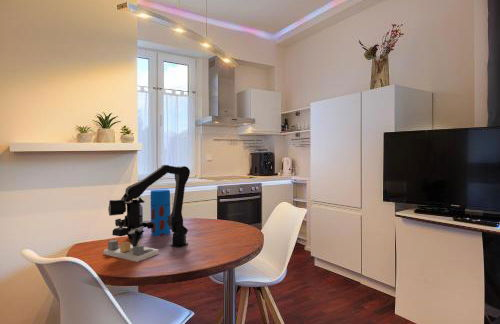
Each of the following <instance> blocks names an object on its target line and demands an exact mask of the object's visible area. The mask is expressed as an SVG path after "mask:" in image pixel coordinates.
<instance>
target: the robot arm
mask: <svg viewBox="0 0 500 324" xmlns="http://www.w3.org/2000/svg"><path fill="white" fill-rule="evenodd" d="M190 173H191V170H190V168H189V167H187V166H184V165H179V166H173V165H169V164H162V165H161V166H159V168H158V169H156V170H154V171H153V172H152V173H150V174H149V175H148V176H146V177H145V178H143V179H142V180H140V181H137V182H135V183H133V184H131V185H129V186H127V187H126V188H125V192H124V194H123V196H122V197H120V199H115V200H114V199H109V200H108V201H109V202H108V203H109V204H108V207H107V209H108V210H107V211H108V215H109V216H111V217H112V216H119V215H120V216H121V215H124V213H126V215H124V219H122V218H116V219H115V220H114V223H115V227H116V228H113V229H112V236H116V237H124V236H127V237H128V239H129V241H130V244H132V246H136V245H138V242H139V240H140V238H142V237H141V235H142V233H143V234H144V233H145V230H144V228H147V229H150V230H151V228H153V223H152V222H151V221H150V220H149V221H148V220H143V222H140V217H142V215H140V204H143V203H145V200H143V199H142V197H141V195H142V194H144V192H145V191H146V190H147V189H148V188H149V187H150V186H152V185H153V184H154V183H156V182H157V181H158V180H160V179H161V178H162V177H163V178H164V176H166V175H167V174H171V175H174V181H175V188H174V197H173V203H172V204H173V205H172V211H171V212H170V215H168V220H167V222H166V223H168V227H169V228H170V231H171V232H172V238H171V241H172V242H171V243H172V244H170V245H169V246H170V247H174V248H175V247H176V248H182V247H185V246H188V245H189V243H188V242H187V234H188V231H189V230H188V228H187V227H185V225H184V217H183V213H182V211H183V204H184V197H185V189H186V188H185V187H186V184H187V182H188V180H189V178H190V175H191V174H190ZM142 228H143V230H142Z"/></svg>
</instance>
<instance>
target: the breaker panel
mask: <svg viewBox="0 0 500 324" xmlns="http://www.w3.org/2000/svg"><path fill="white" fill-rule="evenodd" d="M103 254H104V255H106V256H109V257H110V256H111V257H115V258H118V259H124V260H127V261H131V262H136V263H137V262H140V261H144V260H146V259H148V258H151V257H154V256H156V255H159V249H158V248H153V247H147V246H144V245H143V244H137V245H136V246H132V244H131V243H130V250H129V251H126V252H122V251H120V244H119V240H116V239H112V240H108V241H107V248H106V249H103Z"/></svg>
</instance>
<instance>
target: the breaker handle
mask: <svg viewBox="0 0 500 324" xmlns="http://www.w3.org/2000/svg"><path fill="white" fill-rule="evenodd" d="M130 244H131V241H130V242H129V241H123V242H120V243H119V245H120V251H122V252H126V251H129V250H130Z"/></svg>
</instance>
